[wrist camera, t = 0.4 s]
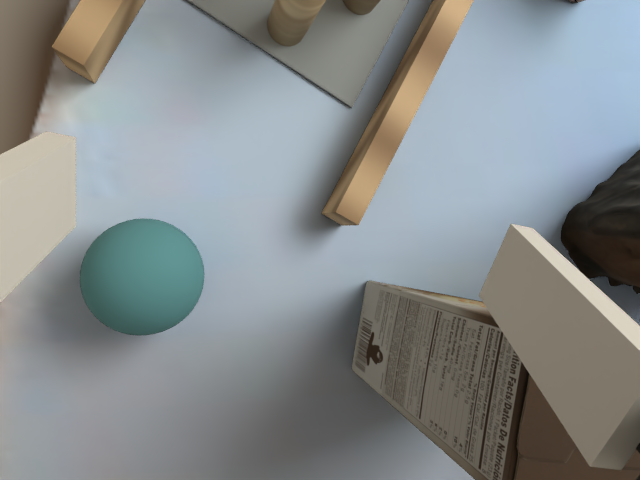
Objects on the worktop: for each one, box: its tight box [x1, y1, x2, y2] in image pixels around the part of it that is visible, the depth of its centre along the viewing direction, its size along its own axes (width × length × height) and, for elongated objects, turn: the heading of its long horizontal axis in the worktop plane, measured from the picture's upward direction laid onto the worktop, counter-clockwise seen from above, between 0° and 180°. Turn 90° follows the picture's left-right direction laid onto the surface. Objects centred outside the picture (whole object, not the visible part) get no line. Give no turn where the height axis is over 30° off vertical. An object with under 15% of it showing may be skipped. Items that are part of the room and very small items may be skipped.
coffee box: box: [352, 281, 640, 480], centre depth 24 cm, size 9×6×16 cm
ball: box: [80, 219, 204, 335], centre depth 24 cm, size 6×6×6 cm
